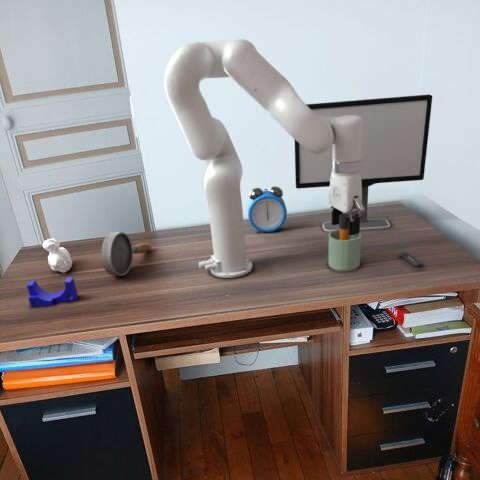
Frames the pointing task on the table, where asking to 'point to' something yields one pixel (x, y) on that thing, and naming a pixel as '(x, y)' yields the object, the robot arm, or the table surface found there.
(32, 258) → the table surface
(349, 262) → the pen holder
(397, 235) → the table surface
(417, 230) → the table surface
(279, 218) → the alarm clock
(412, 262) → the usb stick
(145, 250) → the frying pan
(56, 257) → the bust
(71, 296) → the blue cradle stand
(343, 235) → the marker
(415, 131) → the computer monitor
